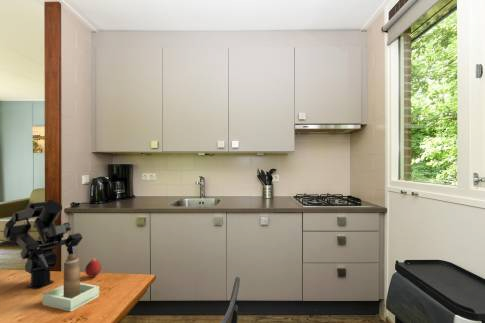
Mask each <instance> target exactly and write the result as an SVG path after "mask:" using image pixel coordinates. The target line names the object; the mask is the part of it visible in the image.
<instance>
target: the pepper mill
mask: <svg viewBox="0 0 485 323" xmlns="http://www.w3.org/2000/svg"><path fill="white" fill-rule="evenodd" d="M64 261H65V262H64V263H63V285H64V297H66V298H70V299H72V298H74V297H76V296H78V295H80V283H81V260H80V258H79V257H78V256H77V254H70V255H69V254H68V255H67V258H66V259H65V260H64Z"/></svg>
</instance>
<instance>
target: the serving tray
mask: <svg viewBox="0 0 485 323" xmlns="http://www.w3.org/2000/svg"><path fill="white" fill-rule="evenodd" d="M98 297H100V286H99V285H94V284H90V283H84V282H80V295H78V296H76V297H74V298H72V299H70V298H66V297H64V284H62V285H60V286H58V287H56V288H54V289H51V290H48V291H47V292H44V293H42V306H47V307H51V308H53V309H54V308H55V309H58V310H62V311H67V312H73V311H74V310H76V309H78V308H80V307H82V306H83V305H85V304H87V303H89V302H91V301H92V300H95V299H97V298H98Z"/></svg>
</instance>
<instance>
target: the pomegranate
mask: <svg viewBox="0 0 485 323" xmlns="http://www.w3.org/2000/svg"><path fill="white" fill-rule="evenodd" d="M101 270H102V264H101V263H100V262H99V261H97V260H96V257H94V258H92V259H91V260H90V261H89V262H88V263H87V264H86V267H85V274H86V276H88V277H90V278H96V277H97V275H99V274H100V272H101Z"/></svg>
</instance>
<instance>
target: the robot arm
mask: <svg viewBox="0 0 485 323" xmlns="http://www.w3.org/2000/svg"><path fill="white" fill-rule="evenodd" d="M62 210H63V206H62V204H61V203H60V202H57V201H54V199H46V201H39V202H31V203H28V204H27V205H26V206H25V208H24V209H21V210H20V211H16V212H13V213H12V215H11V218H10V219H9V220H8V221H7V222H6V223H5V225H4V229H3V238H4V239H6V240H7V242H10V243H16V244H18V245H19V247H20V248H21V252H20V256H21V259H22V260H27V261H26V263H25V265H24V270H25V272H26V273H28V274H30V283H29V284H27V285H26V288H31V289H36V290H38V289H41V288H44V287H45V286H48V285H51V284H53V283H55V281H54V280H51V268H54V267H56V263H57V258H58V254H57V252H56V251H55V250H54V248H56V247H60V246H65V247H66V251H67V253H68V256H69V255H70V254H76V253H77V251H76V250H77V246H78V245H79V243H80V242H81V241H82V240H83V235H82V234H81V233H80V232H76V233H73V234H69V235H68V236H67V238H66V239H65V238H64V237H65V236H64V235H65V234H68V232H70V231H71V230H72V226H71V224H70V222H63V223H62V224H61V225H56V224H55V221H56V220H57V218H58V217H59V215H60V214H61V212H62ZM30 219H35V220H34V222H33V223H34V224H33V228H36V232H37V234H38V237H37V238H38V240H40V241H41V243H42V244H40V242H39V241H37V240H35V238H34V237H32V235H31V234H30V232H31V230H32V229H31V228H32V224H31V223H30V221H29V220H30ZM23 221H25V222H26V223H24V224H17V225H16V223H17V222H23ZM63 238H64V239H63ZM76 255H77V254H76Z"/></svg>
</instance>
